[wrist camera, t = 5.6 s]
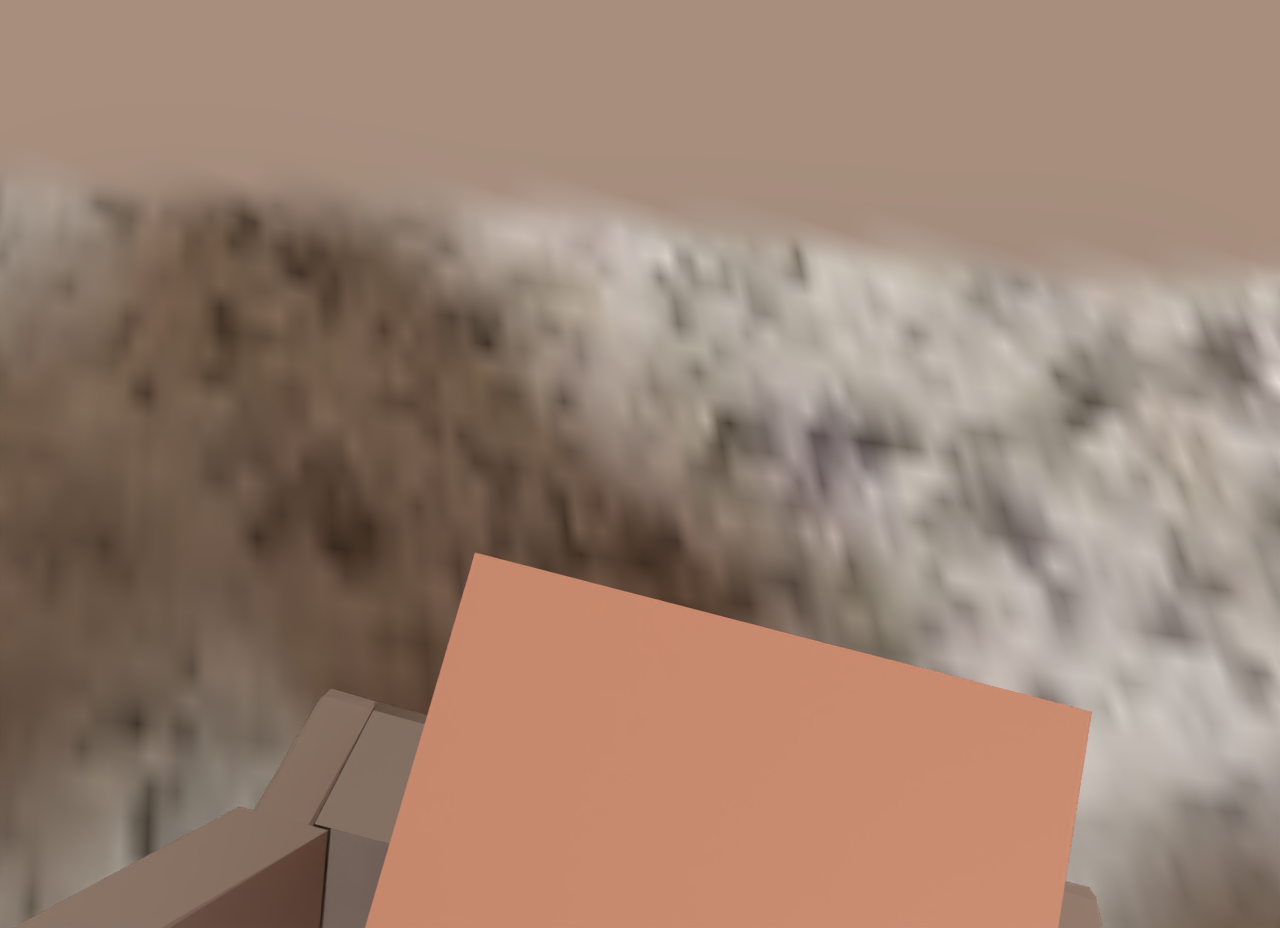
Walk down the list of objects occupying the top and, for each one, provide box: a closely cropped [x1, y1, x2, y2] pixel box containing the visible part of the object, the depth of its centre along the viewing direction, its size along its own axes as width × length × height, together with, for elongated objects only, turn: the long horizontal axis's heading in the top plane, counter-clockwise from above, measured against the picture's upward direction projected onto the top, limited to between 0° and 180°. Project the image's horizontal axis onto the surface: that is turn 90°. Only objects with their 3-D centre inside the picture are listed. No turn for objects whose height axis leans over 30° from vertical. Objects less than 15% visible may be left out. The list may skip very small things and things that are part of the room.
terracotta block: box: [365, 553, 1092, 928], centre depth 12 cm, size 4×4×9 cm
